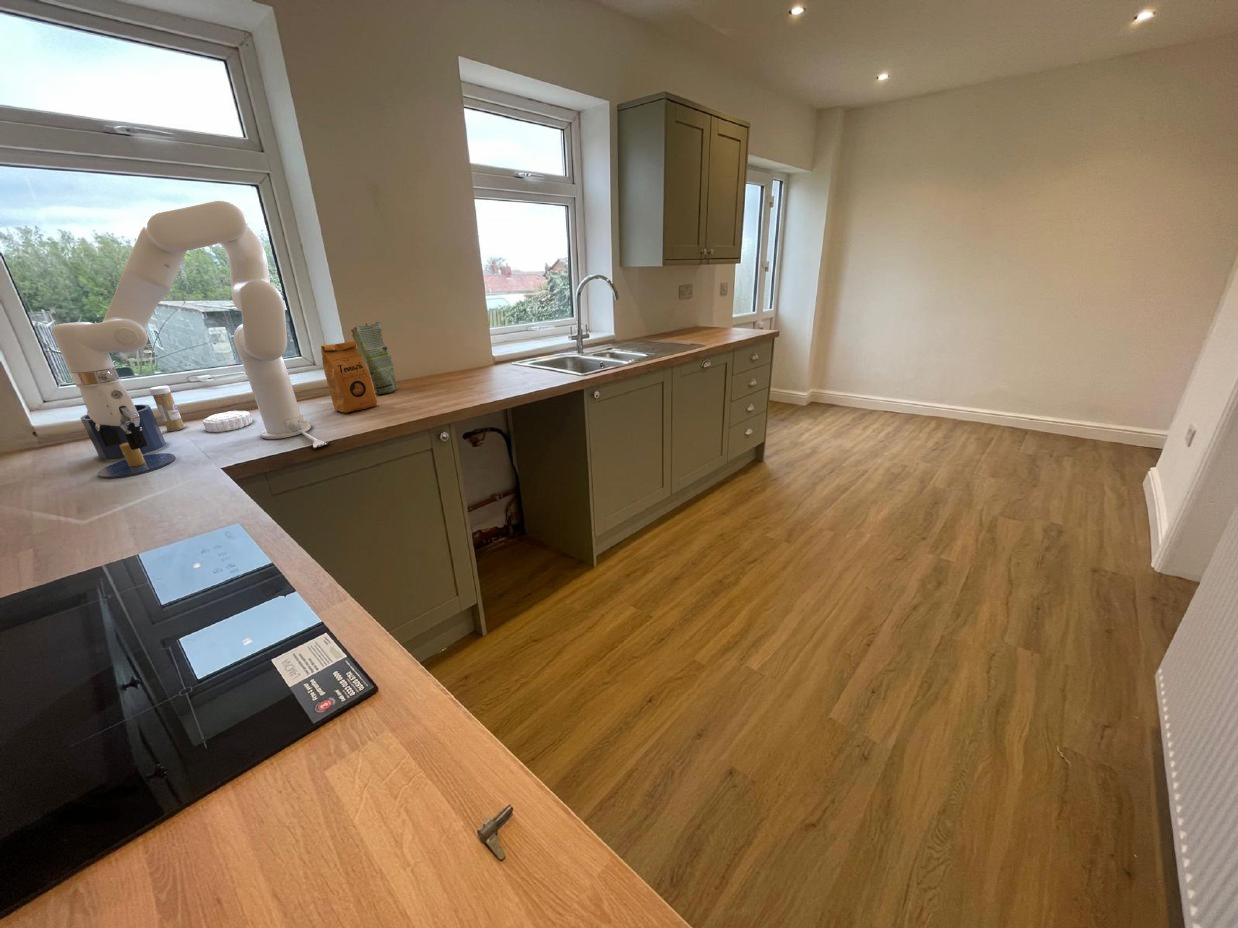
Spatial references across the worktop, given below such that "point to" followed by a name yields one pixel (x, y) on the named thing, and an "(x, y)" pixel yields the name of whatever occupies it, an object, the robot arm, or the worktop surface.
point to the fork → (314, 440)
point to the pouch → (375, 357)
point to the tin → (114, 451)
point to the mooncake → (227, 421)
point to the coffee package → (347, 377)
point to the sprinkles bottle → (167, 408)
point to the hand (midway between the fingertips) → (126, 446)
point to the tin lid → (135, 463)
